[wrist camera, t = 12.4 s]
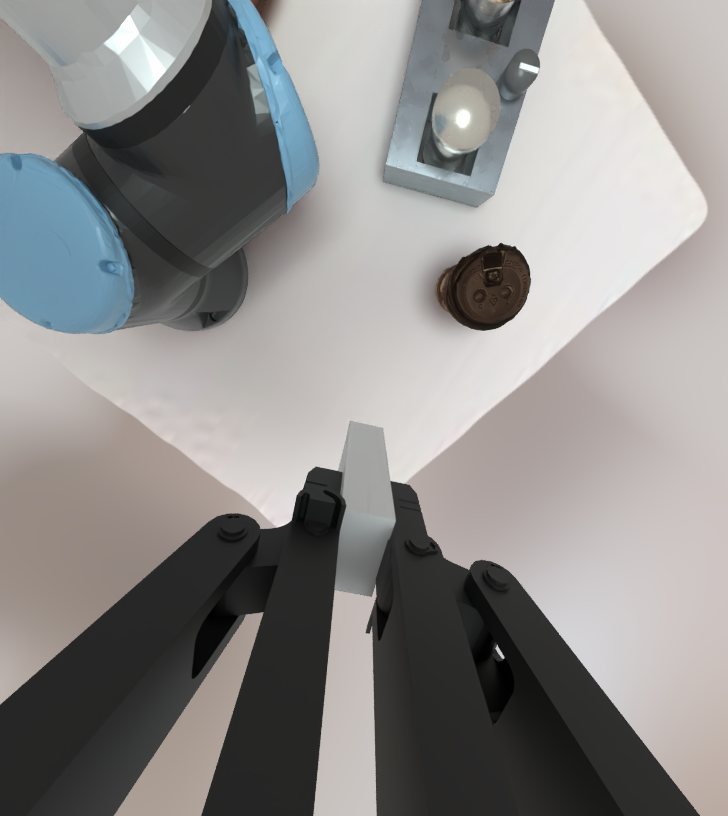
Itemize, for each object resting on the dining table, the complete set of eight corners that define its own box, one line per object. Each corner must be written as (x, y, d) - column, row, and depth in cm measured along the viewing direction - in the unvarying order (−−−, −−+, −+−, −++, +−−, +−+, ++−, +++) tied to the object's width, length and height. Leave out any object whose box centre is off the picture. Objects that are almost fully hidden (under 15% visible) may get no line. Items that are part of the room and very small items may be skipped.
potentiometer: (494, 96, 35) (505, 80, 32) (504, 61, 34) (516, 42, 31) (521, 104, 35) (533, 89, 32) (531, 70, 34) (545, 52, 31)
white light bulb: (411, 175, 41) (426, 139, 31) (425, 116, 39) (445, 59, 29) (458, 188, 41) (487, 156, 32) (474, 131, 39) (510, 79, 30)
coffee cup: (453, 239, 44) (488, 219, 32) (505, 274, 45) (558, 268, 33) (415, 301, 47) (434, 305, 34) (466, 333, 48) (502, 347, 36)
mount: (383, 181, 42) (386, 164, 36) (428, -24, 36) (440, -83, 30) (476, 207, 43) (494, 194, 37) (535, 11, 37) (567, -40, 31)
